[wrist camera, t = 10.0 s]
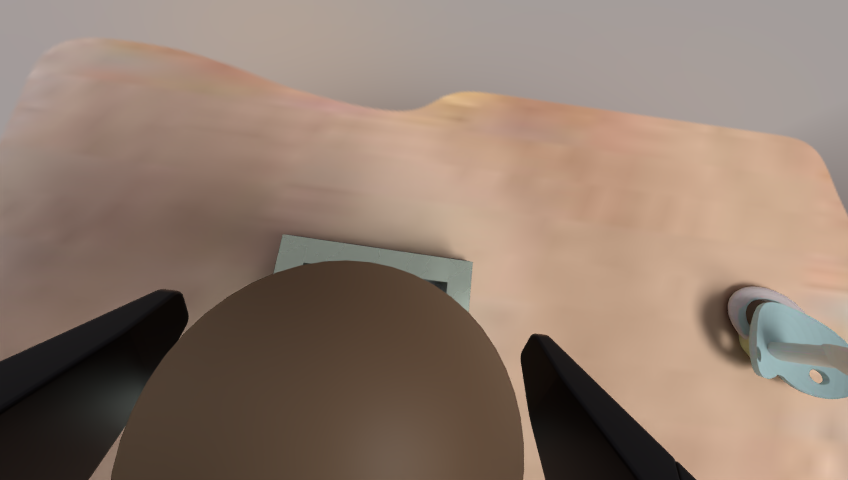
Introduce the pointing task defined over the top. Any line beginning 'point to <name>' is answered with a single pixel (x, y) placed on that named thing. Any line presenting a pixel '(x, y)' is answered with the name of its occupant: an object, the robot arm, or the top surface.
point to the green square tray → (380, 262)
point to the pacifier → (790, 343)
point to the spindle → (328, 387)
